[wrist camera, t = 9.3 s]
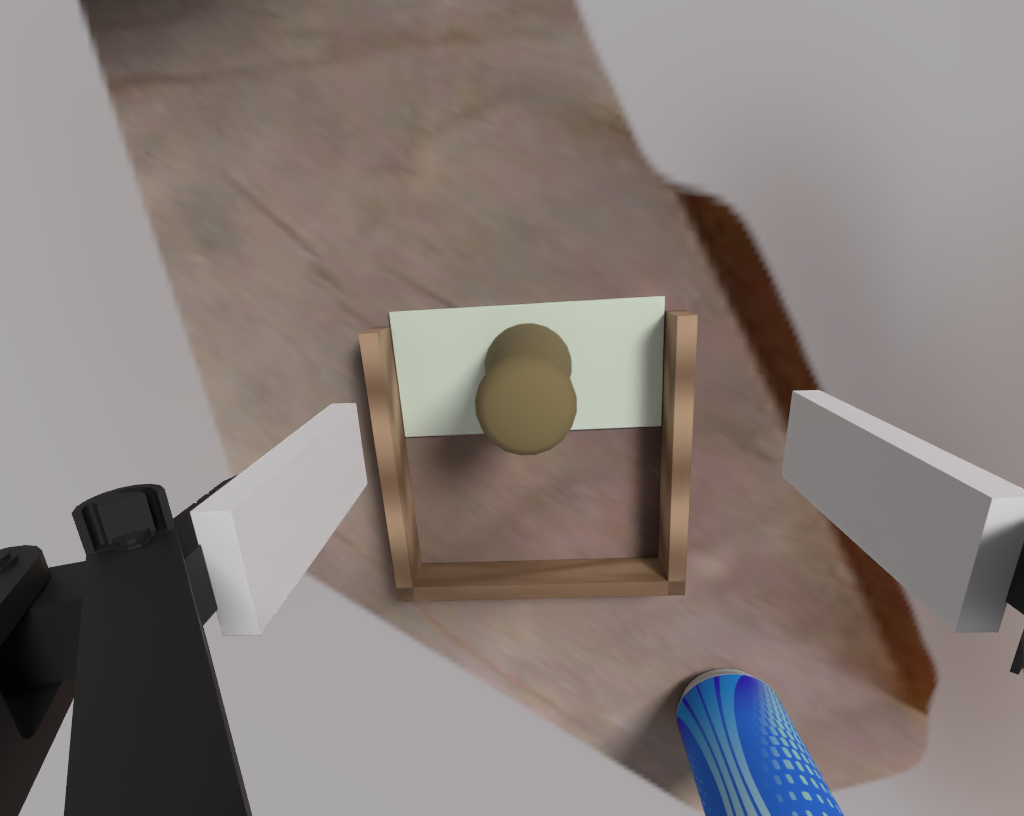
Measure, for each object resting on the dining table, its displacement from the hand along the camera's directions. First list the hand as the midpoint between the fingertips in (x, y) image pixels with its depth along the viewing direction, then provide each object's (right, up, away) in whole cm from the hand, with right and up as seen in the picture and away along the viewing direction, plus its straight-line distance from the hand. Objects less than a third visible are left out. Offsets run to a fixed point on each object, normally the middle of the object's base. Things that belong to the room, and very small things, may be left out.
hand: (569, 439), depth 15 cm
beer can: (+16, -24, +27) cm, 39 cm away
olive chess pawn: (-1, +4, +19) cm, 20 cm away
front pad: (-1, +4, +19) cm, 20 cm away
